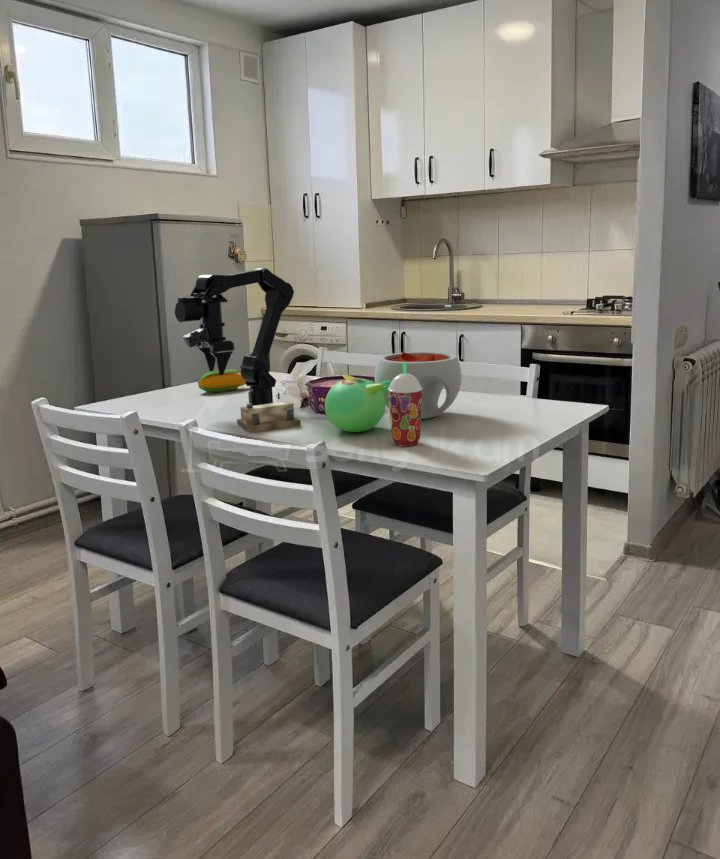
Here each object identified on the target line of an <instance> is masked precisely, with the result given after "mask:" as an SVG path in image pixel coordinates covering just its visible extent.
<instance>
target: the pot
mask: <svg viewBox="0 0 720 859" xmlns="http://www.w3.org/2000/svg"><path fill="white" fill-rule="evenodd" d="M403 362H406V373H408V374H411V375H413V376H414V377H416V378H417V380H418V381H419V383H420V385H421V387H422V388H423V390H422V409H421V419H423V420H429V419H432V417H433V418H435V417H437V416H439V415H441V414H443V413H444V412H446V411H447V409H449V408H450V407H451V405H453V403H454V402H455V400H456V398H457V397H458V394H459V392H460V389H461V385H462V379H463V378H462V376H463V375H462V368H461V364H460V361H459V359H458V357H457V355H455V354H452V353H447V352H440V351H439V352H438V351H408V352H397V353H391V354H386V355H382V356H380V357H379V358H378V360H377V362H376V366H375V370H374V383H375V384H378V383H382V382H385V381H388V380H390V381H392V380H393V379H394V378H395V377H396V376H397V375H399V374H402V373H403ZM444 388H445V393H446V394H445V395H446V396H445V400H444V403H443V404H442V405H441V406H440V407H439V398H440V395H441V393H442V391H443V389H444ZM384 397H385V407H386V408H387V409H389V397H388V390H387V391H386V392H385V394H384ZM428 418H429V419H428Z"/></svg>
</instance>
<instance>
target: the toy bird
mask: <svg viewBox="0 0 720 859" xmlns="http://www.w3.org/2000/svg"><path fill="white" fill-rule="evenodd" d="M342 377H343V379H342V380H339V381H338V382H336V383H335V384H334V385H333V386H332V387H331V388H329V390H328V393H327V395H326V397H325V400H324V413H325V415H326V418H327V419H328V421H329V422H330V424H332V425H333V427H335V428H337V429H338V430H341V431H344V432H349V433H361V432H366V431H369V430H371V429H372V428H374V427H375V426H376V425H378V424H379V423H380V422H381V420H382V418H383V416H384V415H385V414H384V413H385V409H386V405H385V397H384V394H385V392H386V391H387V390H388V388H389V386H390V383H391V381H390V380H388V381H385V382H382V383H378V384H375V382H373V381H371V380H368V379H366V378H364V377H355V376H351V375H348V374H342Z"/></svg>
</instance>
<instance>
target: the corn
mask: <svg viewBox="0 0 720 859" xmlns="http://www.w3.org/2000/svg"><path fill="white" fill-rule="evenodd" d="M237 371H239V369H225V371H224V374H223V375H219V372H218V370H213V371H209V372H206V373H204V374H202V376H200V377H199V379H198V381H197V384H198V387H199V389H200V390H201V391H205V392H206V393H211V392H215V393H221V392H220V391H223V392H228V391H227V390H231V391H234V390H233V389H235V390H238V388H239V387H242V386H244V385H246V383H245V380H244V379H243V378H242V375H241V372H237Z"/></svg>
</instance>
